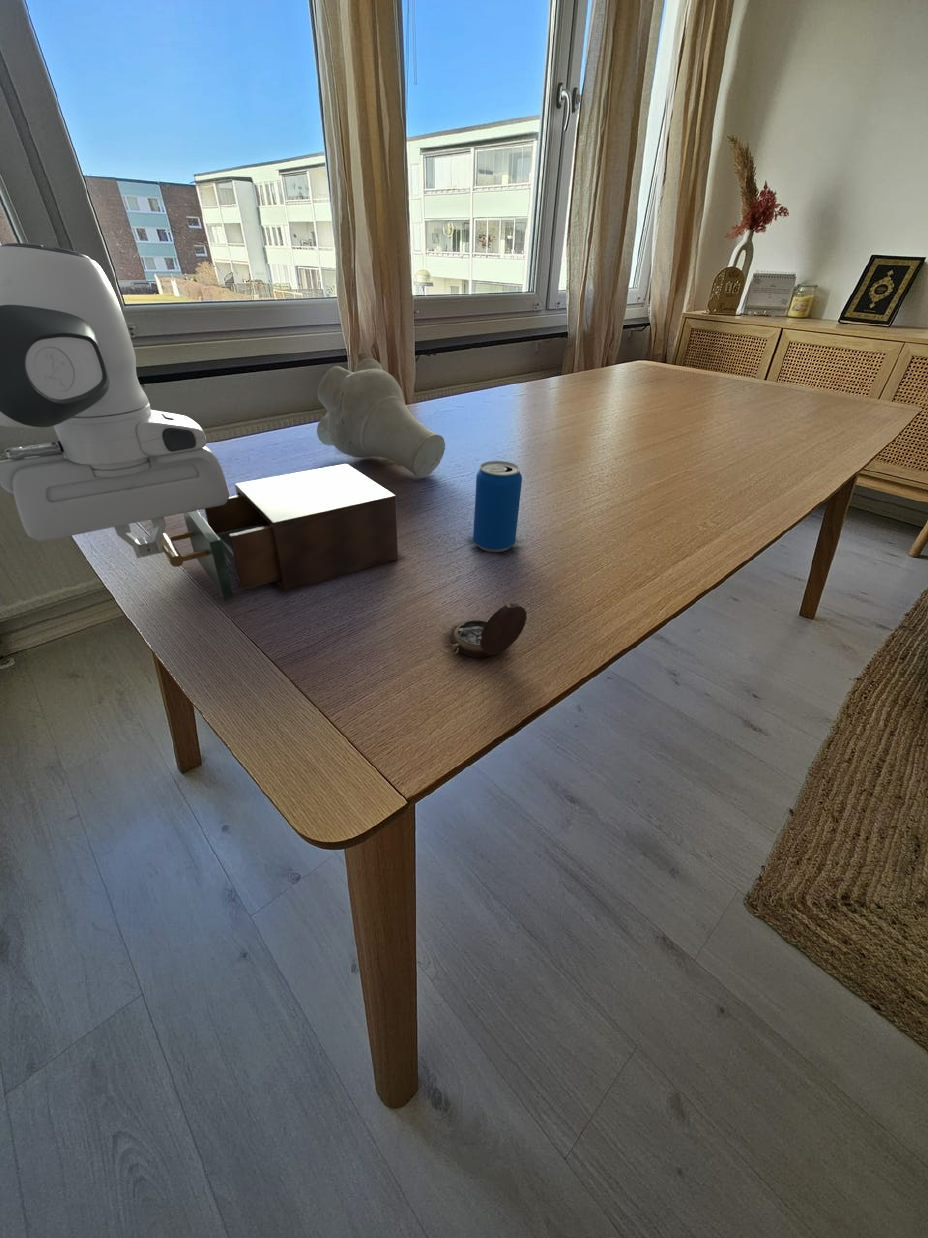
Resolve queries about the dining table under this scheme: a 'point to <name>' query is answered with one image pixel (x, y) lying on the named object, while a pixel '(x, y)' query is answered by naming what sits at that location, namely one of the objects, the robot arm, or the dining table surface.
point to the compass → (489, 632)
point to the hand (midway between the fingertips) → (149, 553)
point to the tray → (227, 544)
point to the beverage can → (496, 505)
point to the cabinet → (325, 522)
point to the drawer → (248, 546)
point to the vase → (375, 419)
